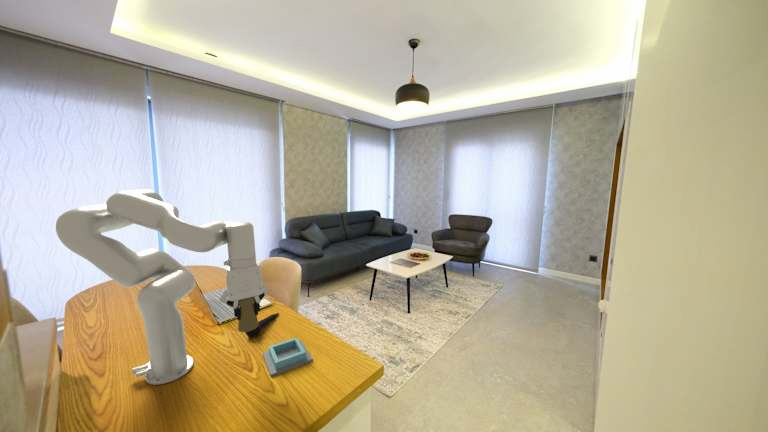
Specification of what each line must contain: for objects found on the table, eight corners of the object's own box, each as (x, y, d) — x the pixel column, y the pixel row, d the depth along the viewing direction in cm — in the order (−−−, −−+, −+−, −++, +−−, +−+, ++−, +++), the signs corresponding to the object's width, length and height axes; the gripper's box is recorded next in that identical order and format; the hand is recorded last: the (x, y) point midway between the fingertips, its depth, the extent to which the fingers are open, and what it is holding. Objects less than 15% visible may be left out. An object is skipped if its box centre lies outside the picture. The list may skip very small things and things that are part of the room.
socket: (270, 376, 90) (270, 367, 89) (262, 354, 101) (262, 346, 100) (312, 360, 98) (312, 352, 97) (301, 341, 108) (300, 334, 108)
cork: (233, 329, 89) (230, 297, 87) (249, 320, 95) (246, 289, 93) (247, 333, 87) (244, 300, 85) (262, 323, 92) (260, 292, 90)
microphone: (275, 320, 129) (244, 341, 109) (271, 308, 129) (240, 326, 109) (285, 318, 128) (256, 338, 108) (282, 306, 128) (252, 324, 108)
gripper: (211, 270, 79) (217, 329, 82) (274, 260, 88) (277, 313, 91) (210, 263, 85) (216, 318, 89) (269, 254, 95) (272, 304, 98)
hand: (247, 315), depth 90 cm, fingers closed on cork, 4 cm apart
